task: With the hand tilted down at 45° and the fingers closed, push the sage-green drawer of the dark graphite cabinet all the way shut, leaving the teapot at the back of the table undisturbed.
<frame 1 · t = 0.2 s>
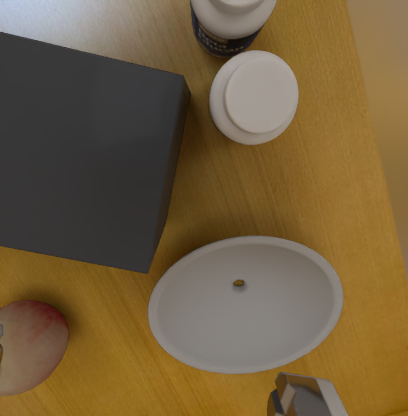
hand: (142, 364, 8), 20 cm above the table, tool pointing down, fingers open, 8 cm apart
fruit: (44, 316, 32), on the table
dish: (238, 280, 31), on the table
pill bottle: (225, 23, 23), on the table
supplement bottle: (238, 105, 25), on the table
cabinet: (99, 145, 26), on the table
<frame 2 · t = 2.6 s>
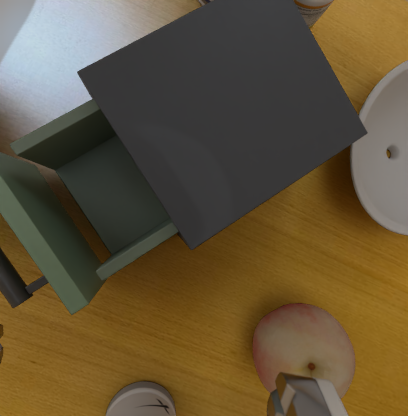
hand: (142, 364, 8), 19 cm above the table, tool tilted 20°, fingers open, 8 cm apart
fruit: (279, 331, 29), on the table
dish: (384, 154, 31), on the table
travel mug: (140, 410, 27), on the table
drawer: (99, 198, 21), point 5 cm above the table, slide at 7.0 cm
supplement bottle: (271, 32, 29), on the table
cabinet: (208, 141, 28), on the table
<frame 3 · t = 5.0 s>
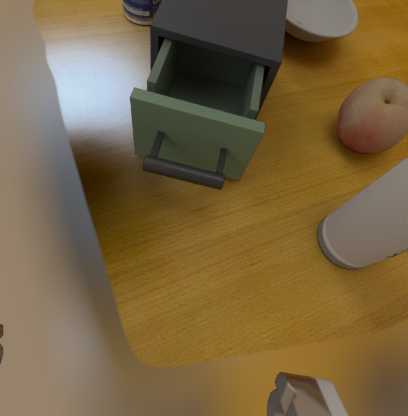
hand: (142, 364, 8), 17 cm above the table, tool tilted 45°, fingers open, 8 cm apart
fruit: (352, 139, 38), on the table
dish: (294, 31, 46), on the table
pill bottle: (142, 16, 42), on the table
travel mug: (341, 241, 31), on the table
drawer: (201, 109, 29), point 5 cm above the table, slide at 7.0 cm
cabinet: (211, 78, 38), on the table
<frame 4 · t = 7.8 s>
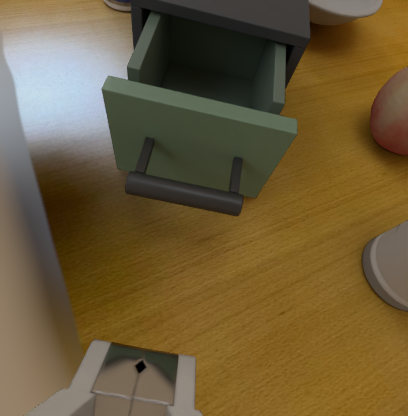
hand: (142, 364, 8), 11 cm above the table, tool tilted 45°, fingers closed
fruit: (387, 139, 31), on the table
dish: (304, 16, 40), on the table
pill bottle: (125, 1, 35), on the table
travel mug: (392, 271, 24), on the table
drawer: (203, 106, 22), point 5 cm above the table, slide at 7.0 cm
cabinet: (211, 70, 31), on the table
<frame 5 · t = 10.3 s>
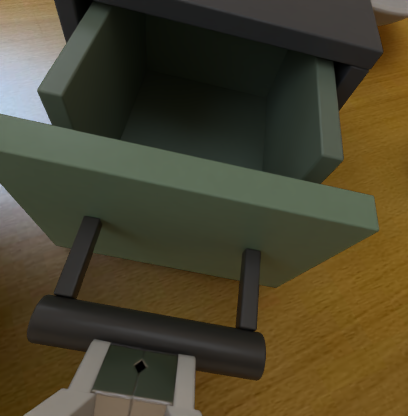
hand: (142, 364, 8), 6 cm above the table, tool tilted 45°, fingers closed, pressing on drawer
dish: (327, 15, 31), on the table
drawer: (193, 148, 13), point 5 cm above the table, slide at 5.9 cm, touching gripper
cabinet: (206, 90, 22), on the table
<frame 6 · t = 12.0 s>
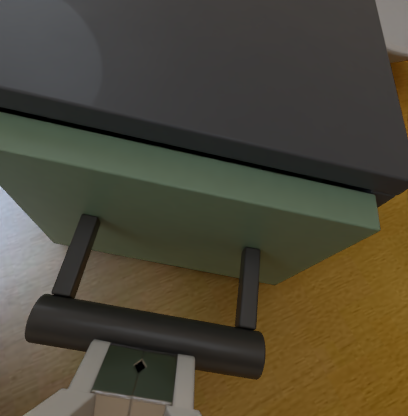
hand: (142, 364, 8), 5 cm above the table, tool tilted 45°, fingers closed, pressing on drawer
dish: (332, 43, 27), on the table
drawer: (192, 145, 13), point 5 cm above the table, slide at 0.0 cm, touching cabinet, gripper
cabinet: (193, 145, 19), on the table
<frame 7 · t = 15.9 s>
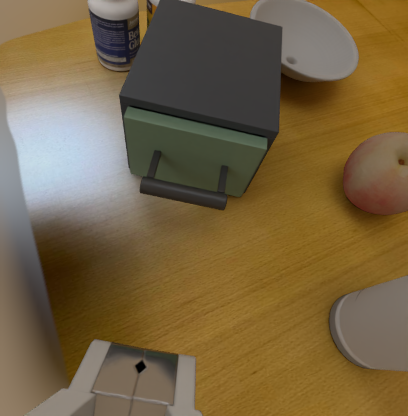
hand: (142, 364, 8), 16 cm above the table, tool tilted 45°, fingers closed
fruit: (359, 194, 33), on the table
dish: (288, 67, 42), on the table
pill bottle: (119, 60, 37), on the table
travel mug: (357, 328, 26), on the table
drawer: (198, 125, 28), point 5 cm above the table, slide at 0.0 cm, touching cabinet
cabinet: (198, 130, 34), on the table
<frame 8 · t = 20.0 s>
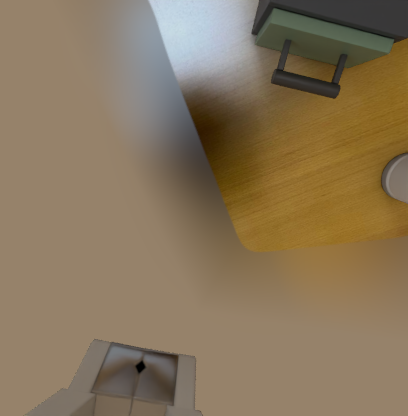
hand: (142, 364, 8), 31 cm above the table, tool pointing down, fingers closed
travel mug: (402, 175, 38), on the table
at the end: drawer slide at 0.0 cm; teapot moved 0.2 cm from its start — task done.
